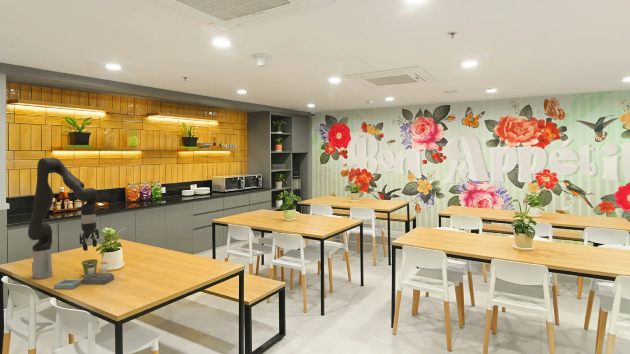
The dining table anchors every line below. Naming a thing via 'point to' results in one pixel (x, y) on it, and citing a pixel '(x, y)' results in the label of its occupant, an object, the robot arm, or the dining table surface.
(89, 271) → the fuse
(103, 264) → the fuse
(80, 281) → the parts tray
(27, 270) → the dining table surface
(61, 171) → the robot arm
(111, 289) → the dining table surface
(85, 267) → the plant pot
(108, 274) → the fuse block
